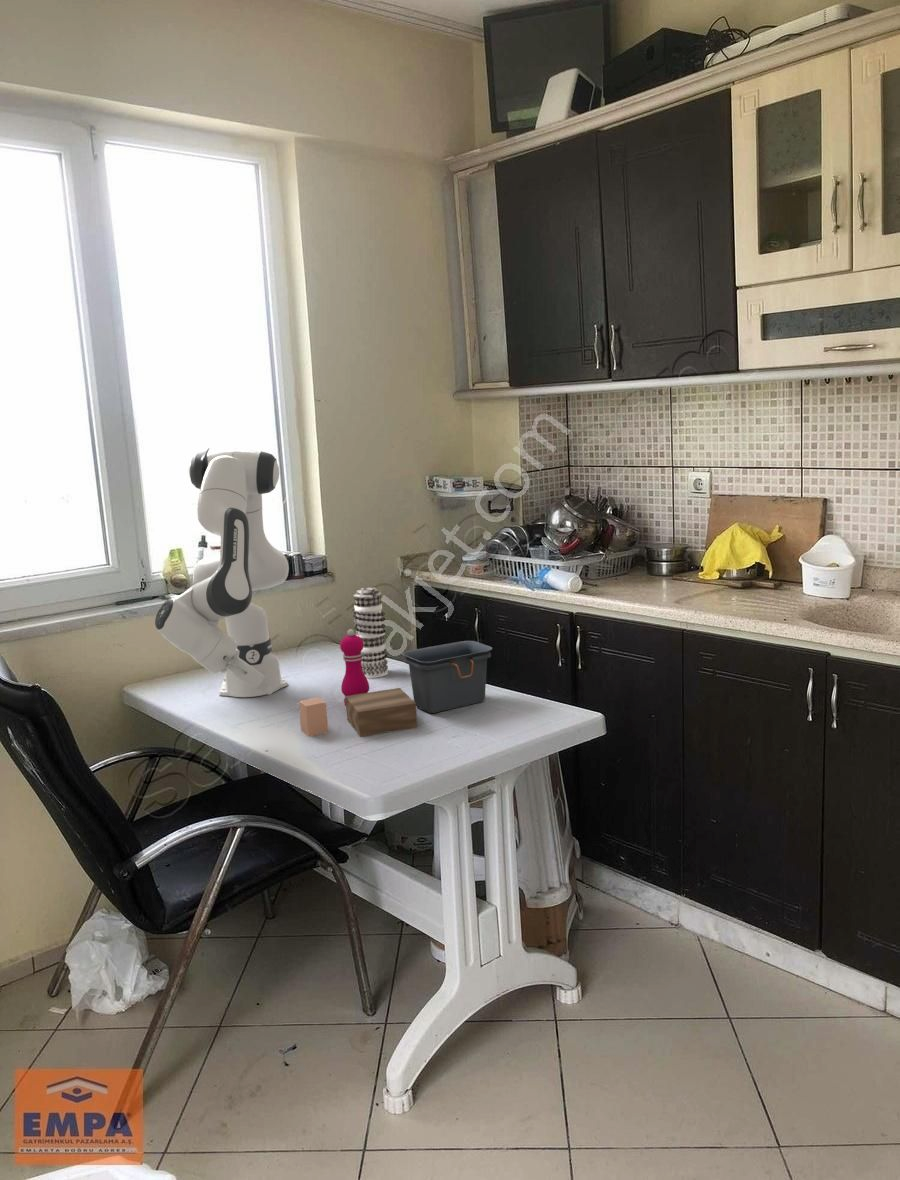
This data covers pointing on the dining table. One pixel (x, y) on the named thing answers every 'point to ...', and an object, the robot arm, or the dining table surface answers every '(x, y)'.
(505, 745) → the dining table surface
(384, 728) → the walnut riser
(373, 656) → the decorative candle
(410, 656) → the storage bin
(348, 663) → the pepper mill
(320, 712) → the terracotta block
